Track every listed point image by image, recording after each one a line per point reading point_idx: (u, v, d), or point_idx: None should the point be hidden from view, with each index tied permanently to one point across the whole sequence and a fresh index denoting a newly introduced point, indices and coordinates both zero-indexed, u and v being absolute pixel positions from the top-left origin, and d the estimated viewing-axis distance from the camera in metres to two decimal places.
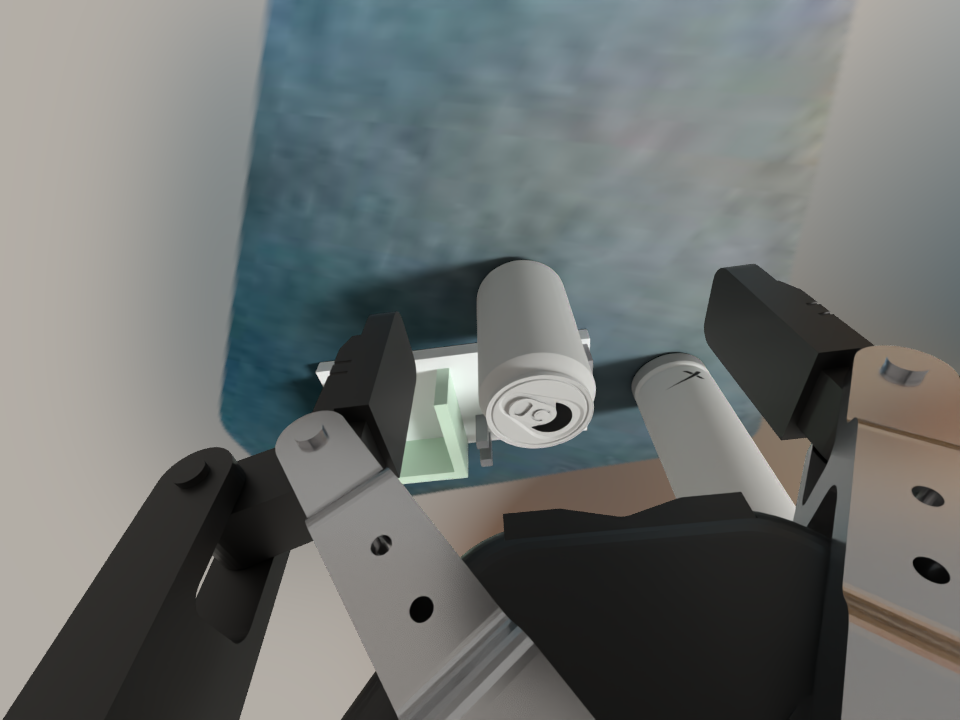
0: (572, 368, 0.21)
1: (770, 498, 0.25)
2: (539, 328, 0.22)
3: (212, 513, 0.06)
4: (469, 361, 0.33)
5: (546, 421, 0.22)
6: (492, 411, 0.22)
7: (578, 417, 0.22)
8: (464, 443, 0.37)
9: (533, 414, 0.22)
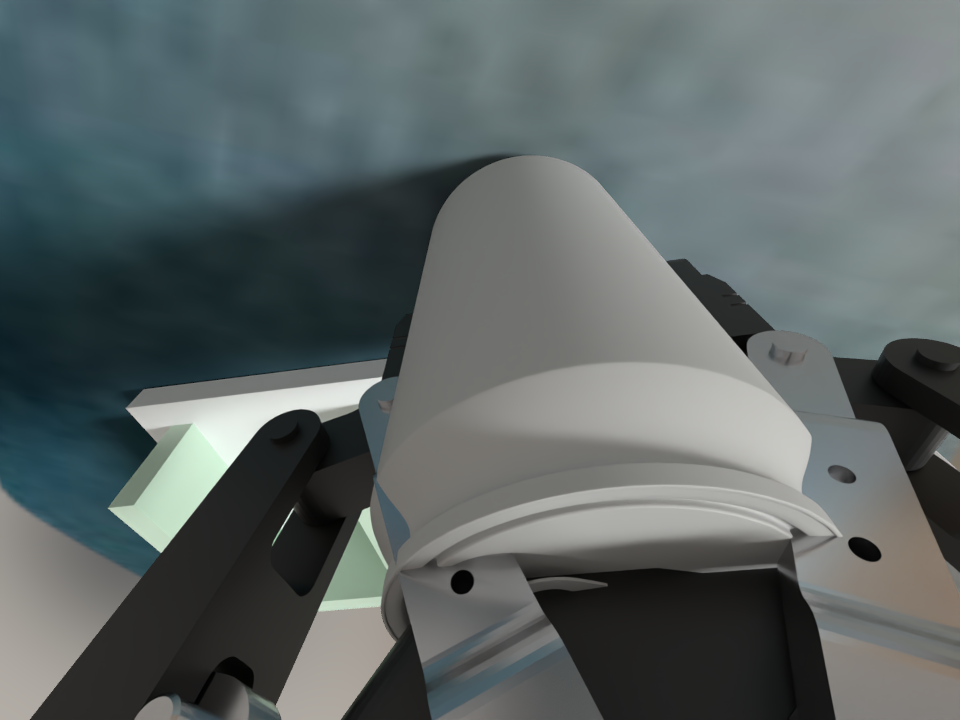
0: (770, 438, 0.04)
1: None
2: (597, 277, 0.06)
3: (296, 473, 0.07)
4: None
5: None
6: None
7: None
8: None
9: None
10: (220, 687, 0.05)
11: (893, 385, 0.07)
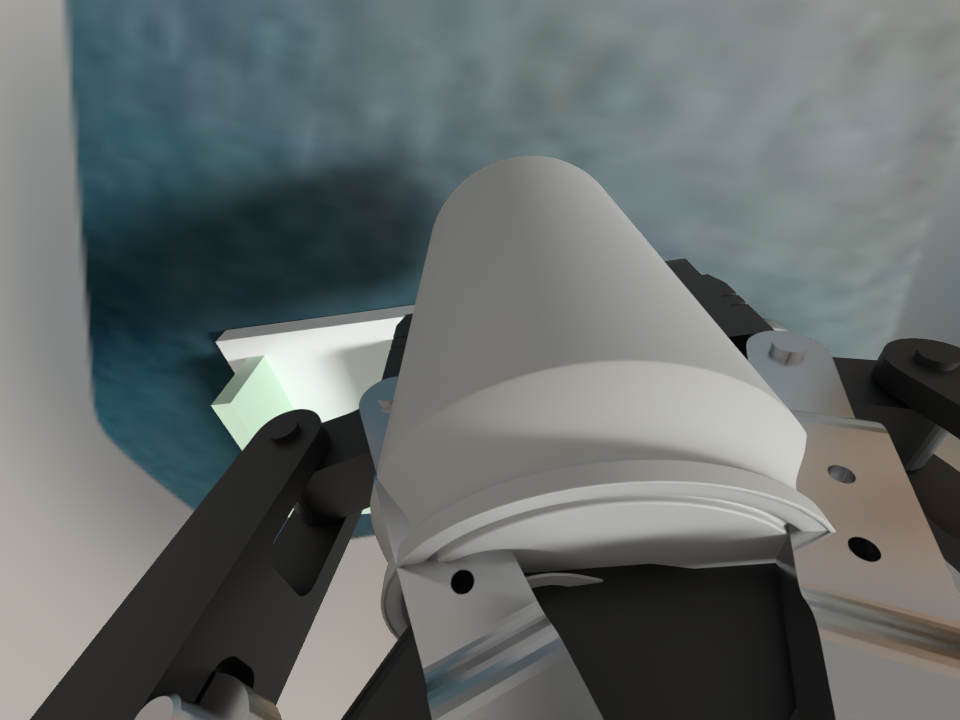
0: (765, 435, 0.05)
1: None
2: (595, 276, 0.06)
3: (296, 473, 0.07)
4: None
5: None
6: None
7: None
8: None
9: None
10: (220, 687, 0.05)
11: (892, 385, 0.07)
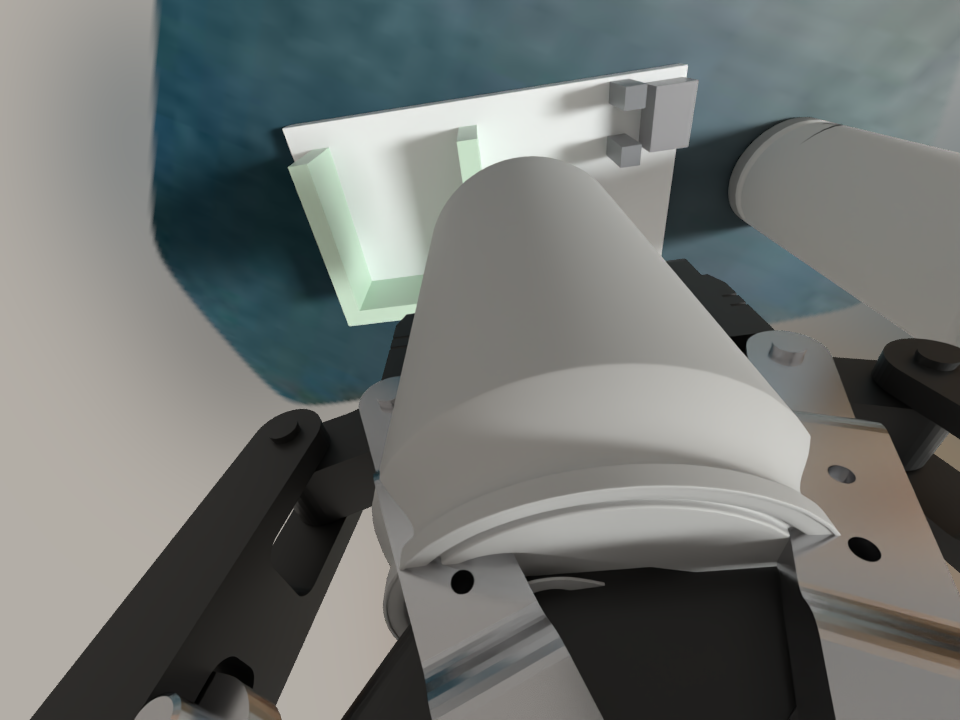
0: (770, 439, 0.04)
1: None
2: (598, 278, 0.06)
3: (297, 473, 0.07)
4: (506, 110, 0.23)
5: None
6: None
7: None
8: None
9: None
10: (220, 687, 0.05)
11: (893, 385, 0.07)
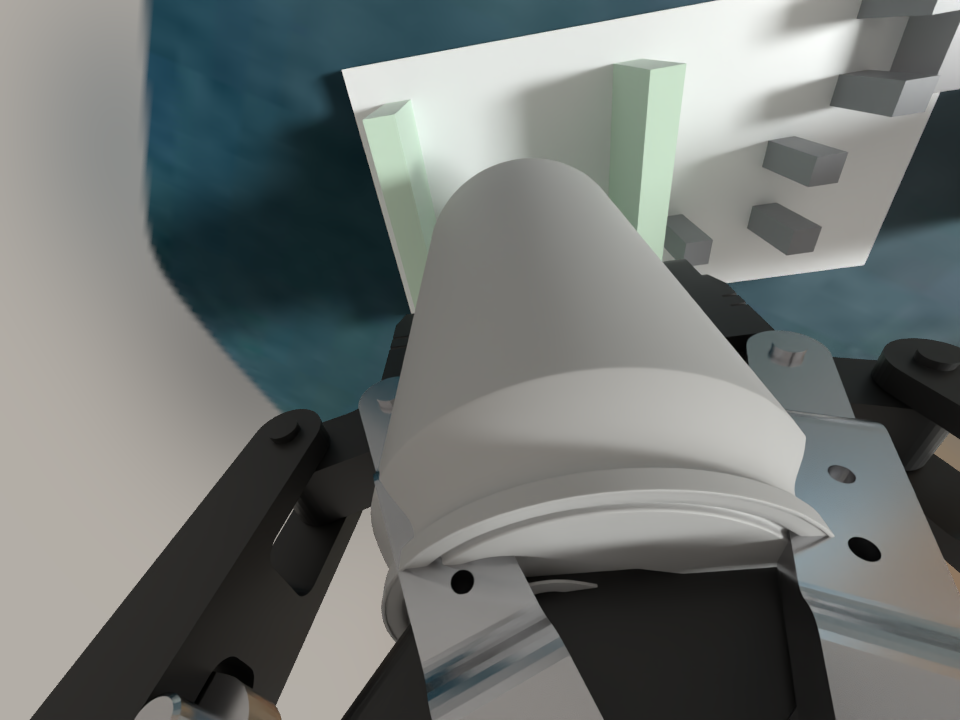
0: (767, 442, 0.05)
1: None
2: (596, 281, 0.06)
3: (296, 473, 0.07)
4: (693, 33, 0.15)
5: None
6: None
7: None
8: None
9: None
10: (220, 686, 0.05)
11: (893, 385, 0.07)
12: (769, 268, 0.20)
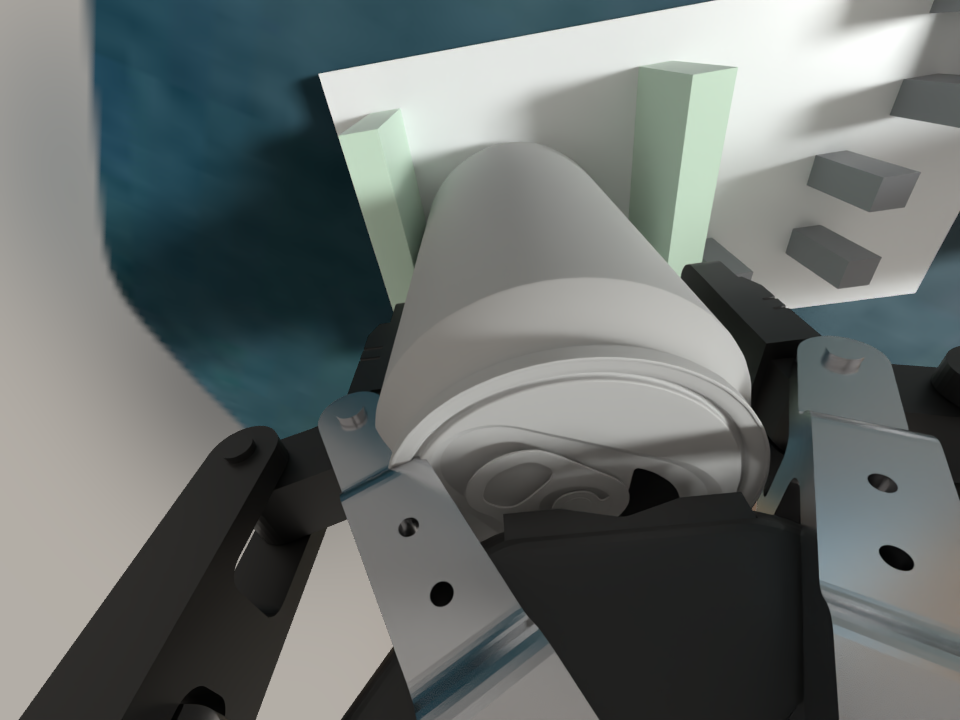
0: (709, 346, 0.06)
1: None
2: (580, 226, 0.07)
3: (255, 491, 0.06)
4: (734, 31, 0.12)
5: None
6: None
7: None
8: None
9: (550, 503, 0.06)
10: (189, 718, 0.05)
11: (952, 391, 0.06)
12: (808, 296, 0.18)
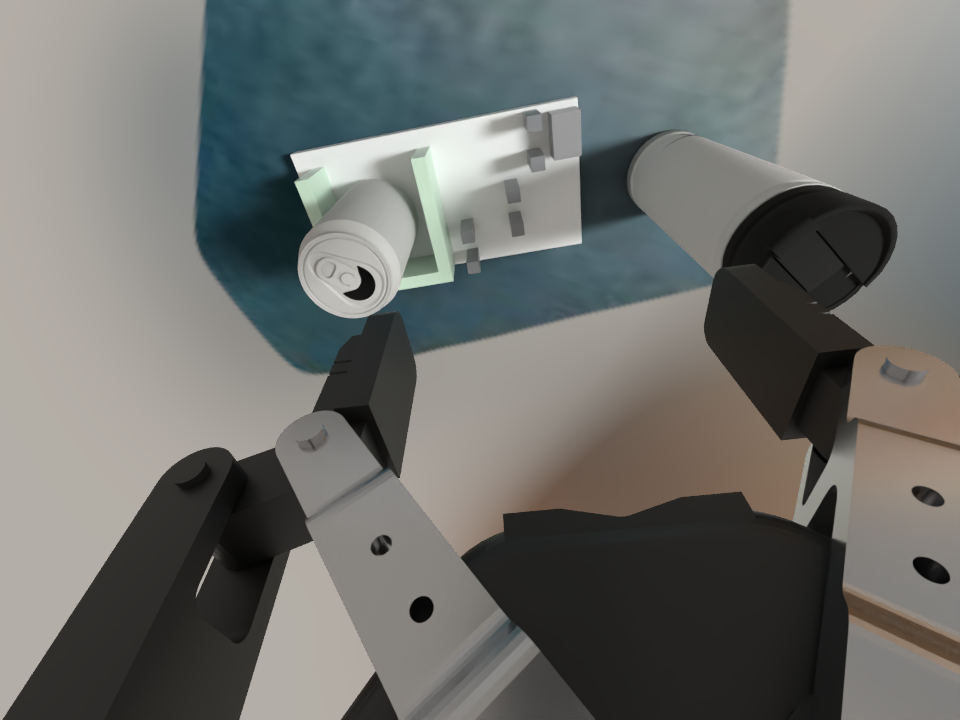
0: (369, 235, 0.25)
1: (780, 168, 0.22)
2: (353, 209, 0.26)
3: (212, 513, 0.06)
4: (450, 135, 0.32)
5: (354, 288, 0.26)
6: (304, 272, 0.25)
7: (381, 285, 0.26)
8: (449, 248, 0.35)
9: (340, 278, 0.26)
10: None
11: None
12: (530, 246, 0.37)
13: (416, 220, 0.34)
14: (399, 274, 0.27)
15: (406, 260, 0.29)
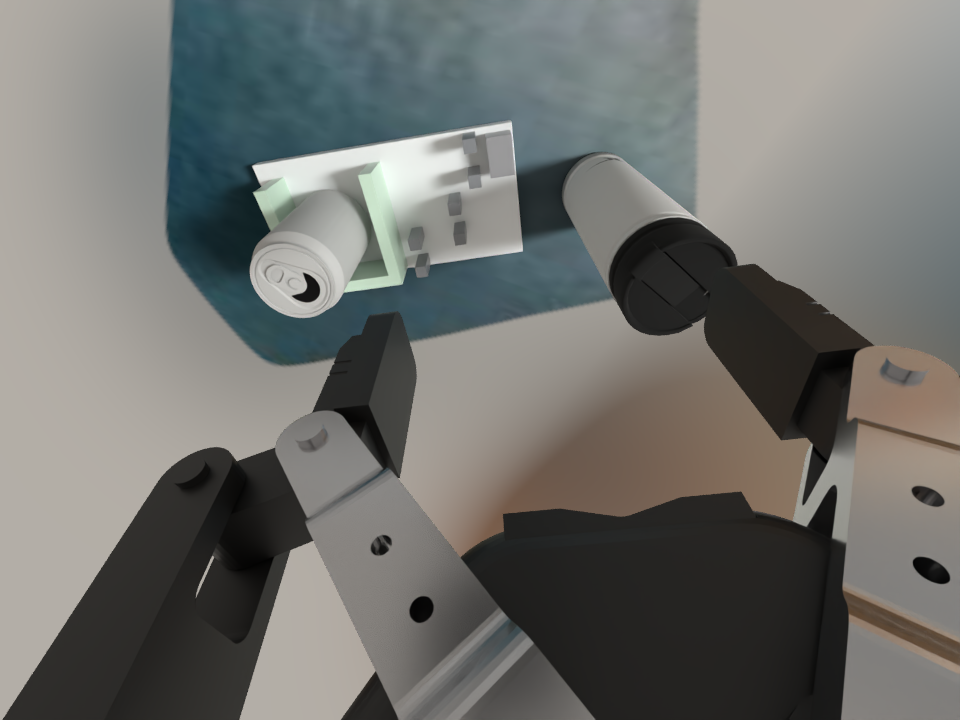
0: (313, 245, 0.28)
1: (661, 199, 0.25)
2: (301, 221, 0.30)
3: (212, 513, 0.06)
4: (398, 152, 0.35)
5: (301, 291, 0.29)
6: (256, 277, 0.29)
7: (325, 289, 0.29)
8: (400, 253, 0.38)
9: (289, 283, 0.29)
10: None
11: None
12: (476, 253, 0.40)
13: (368, 228, 0.37)
14: (342, 280, 0.30)
15: (353, 266, 0.32)
